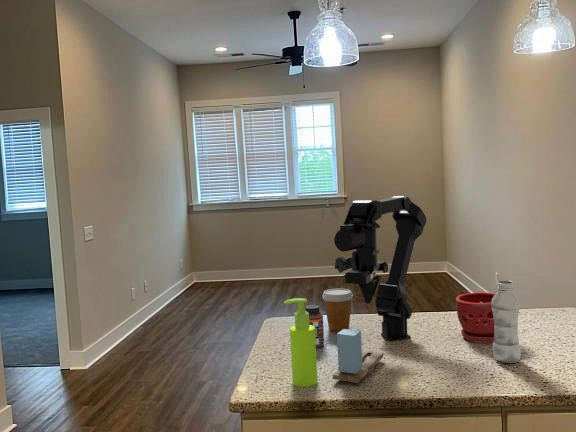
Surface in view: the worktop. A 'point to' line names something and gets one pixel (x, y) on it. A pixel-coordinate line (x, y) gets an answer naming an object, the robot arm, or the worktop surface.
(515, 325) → the plastic bottle
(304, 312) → the soap dispenser
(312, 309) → the supplement bottle
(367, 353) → the slotted wooden board
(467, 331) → the plant pot
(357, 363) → the rider
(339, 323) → the disposable coffee cup
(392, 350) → the worktop surface
